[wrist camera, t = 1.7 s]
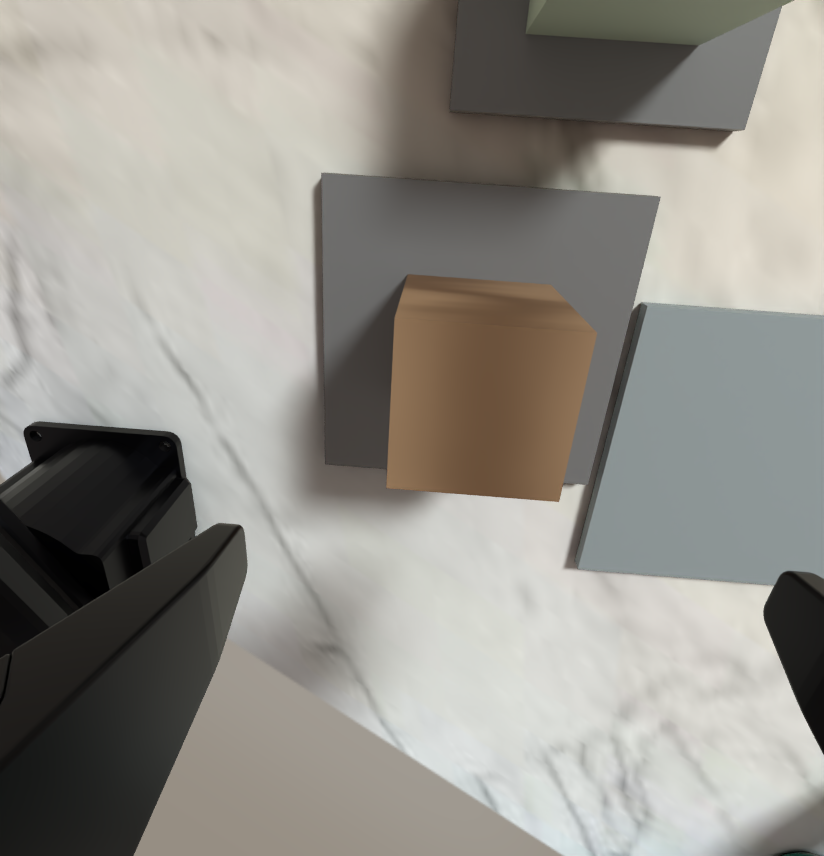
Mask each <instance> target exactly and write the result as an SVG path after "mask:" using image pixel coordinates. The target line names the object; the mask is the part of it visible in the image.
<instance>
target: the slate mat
mask: <svg viewBox="0 0 824 856" xmlns="http://www.w3.org/2000/svg"><path fill="white" fill-rule="evenodd" d="M575 562H576V565H577V568H578V569H581V570H593V571H605V572H618V573H630V574H642V575H655V576H667V577H679V578H692V579H704V580H716V581H729V582H741V583H753V584H766V585H775V583H776V581H777V579H778V577H779V576H780V574H782V573H783V572H785V571H802V572H810V573H814V574H816V575H818V576H820V577H821V578H823V579H824V316H821V315H808V314H794V313H780V312H767V311H753V310H740V309H726V308H712V307H699V306H685V305H671V304H658V303H644V302H642V303H641V307H640V311H639V315H638V318H637V322H636V326H635V330H634V334H633V338H632V342H631V345H630V349H629V353H628V357H627V361H626V365H625V369H624V373H623V376H622V380H621V384H620V388H619V392H618V396H617V400H616V403H615V407H614V411H613V415H612V419H611V423H610V427H609V431H608V434H607V438H606V442H605V446H604V450H603V454H602V458H601V461H600V465H599V469H598V473H597V477H596V481H595V485H594V488H593V492H592V496H591V500H590V504H589V508H588V512H587V516H586V519H585V523H584V527H583V531H582V535H581V539H580V543H579V546H578V550H577V554H576V558H575Z"/></svg>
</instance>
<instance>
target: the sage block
mask: <svg viewBox="0 0 824 856" xmlns="http://www.w3.org/2000/svg"><path fill="white" fill-rule="evenodd" d="M792 1H794V0H530V3H529V10H528V18H527V26H526V34H534V35H549V36H564V37H579V38H594V39H609V40H624V41H639V42H654V43H669V44H685V45H701V44H703V43H705V42H707V41H710V40H712V39H714V38H716V37H718V36H720V35H722V34H724V33H726V32H728V31H731V30H733V29H735V28H737V27H739V26H741V25H743V24H745V23H747V22H749V21H752V20H754V19H756V18H758V17H760V16H762V15H764V14H766V13H768V12H770V11H773V10H775V9H777V8H779V7H781V6H783V5H785V4H787V3H789V2H792Z"/></svg>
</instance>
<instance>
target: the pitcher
mask: <svg viewBox="0 0 824 856" xmlns="http://www.w3.org/2000/svg"><path fill="white" fill-rule="evenodd" d="M782 856H819V855H815V854H811V853H799V852H797V853H791V854H785V855H782Z"/></svg>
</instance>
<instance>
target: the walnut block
mask: <svg viewBox="0 0 824 856" xmlns="http://www.w3.org/2000/svg"><path fill="white" fill-rule="evenodd" d="M596 336H597V332H596V331H595V330H594V329H593V328H592V327H591V326H590V325H589V324H588V323H587V322H586V321H585V320H584V319H583V318H582V317H581V316H580V315H579V313H578V312H577V311H576V310H575V309H574V308H573V307H572V306H571V305H570V304H569V303H568V302H567V301H566V300H565V299H564V298H563V297H562V296H561V295H560V294H559V293H558V292H557V291H556V290H555V288H554V287H553V286H552V285H549V284H535V283H522V282H508V281H494V280H481V279H467V278H453V277H440V276H426V275H412V274H408V275H407V278H406V282H405V285H404V288H403V292H402V295H401V298H400V302H399V305H398V308H397V312H396V315H395V319H394V340H393V361H392V381H391V402H390V423H389V443H388V464H387V485H386V488H391V489H403V490H416V491H429V492H441V493H454V494H467V495H479V496H492V497H505V498H517V499H530V500H542V501H555V502H559V500H560V495H561V491H562V486H563V482H564V478H565V473H566V469H567V464H568V460H569V455H570V451H571V447H572V442H573V438H574V433H575V429H576V425H577V420H578V416H579V411H580V407H581V403H582V398H583V394H584V389H585V385H586V380H587V376H588V372H589V367H590V363H591V358H592V354H593V350H594V345H595V341H596Z"/></svg>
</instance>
